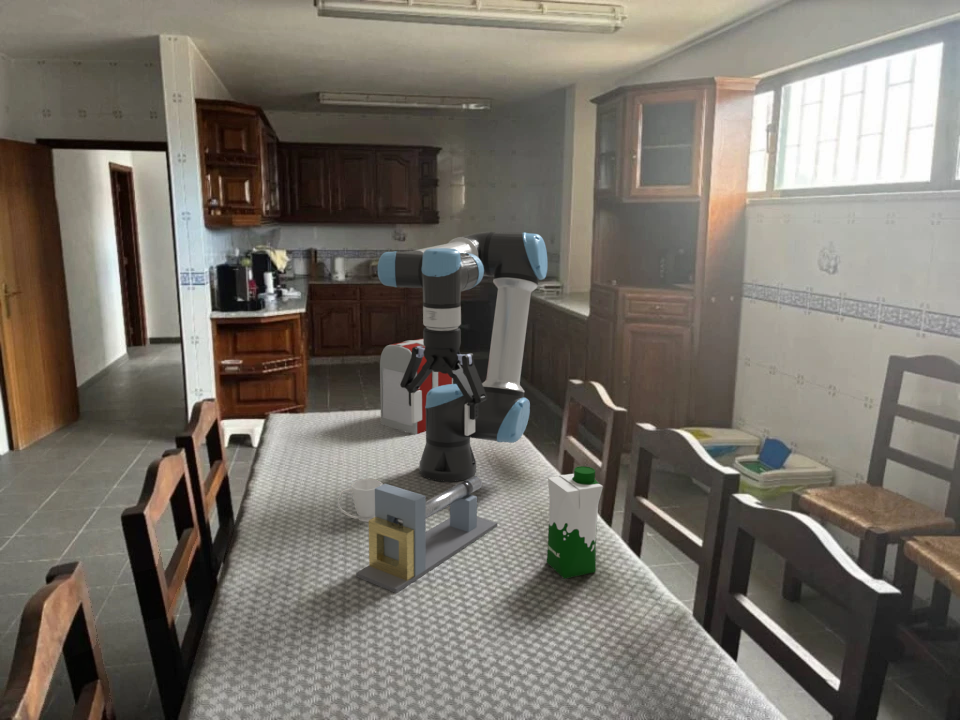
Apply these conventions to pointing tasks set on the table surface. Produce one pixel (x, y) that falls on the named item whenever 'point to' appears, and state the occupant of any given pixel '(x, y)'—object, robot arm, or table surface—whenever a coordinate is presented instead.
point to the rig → (424, 533)
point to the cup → (363, 498)
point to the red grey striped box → (395, 396)
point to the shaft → (449, 497)
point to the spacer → (406, 548)
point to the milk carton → (573, 522)
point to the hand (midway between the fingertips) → (442, 427)
